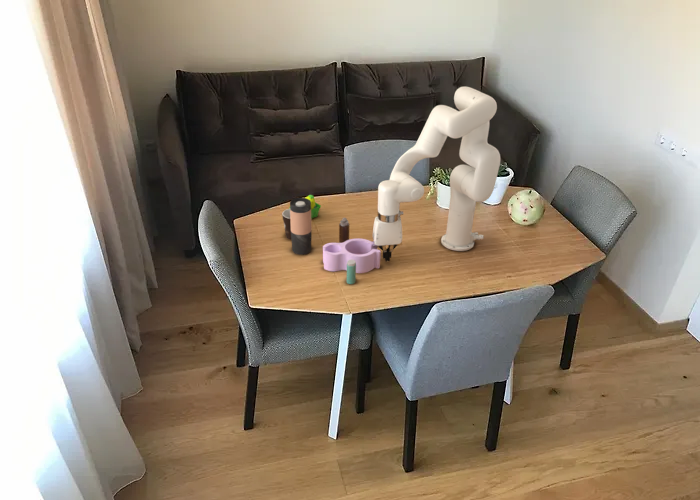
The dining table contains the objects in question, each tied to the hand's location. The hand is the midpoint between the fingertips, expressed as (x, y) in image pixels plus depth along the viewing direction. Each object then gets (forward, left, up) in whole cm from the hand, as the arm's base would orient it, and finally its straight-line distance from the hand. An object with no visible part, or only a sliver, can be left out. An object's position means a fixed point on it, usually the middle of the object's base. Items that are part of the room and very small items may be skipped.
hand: (386, 259), depth 214 cm
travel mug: (+30, -11, -1) cm, 32 cm away
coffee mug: (+32, -23, -1) cm, 40 cm away
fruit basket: (+27, -36, -1) cm, 45 cm away
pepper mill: (+14, -11, -1) cm, 19 cm away
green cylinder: (+14, +12, -1) cm, 19 cm away
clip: (+13, 0, -1) cm, 13 cm away
